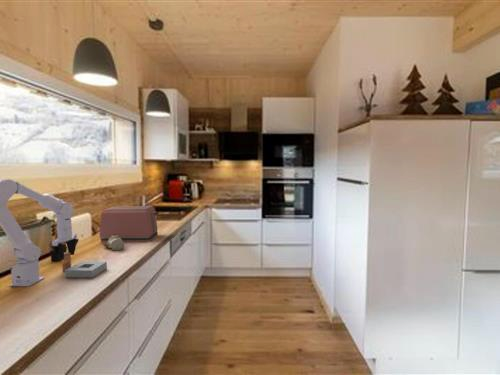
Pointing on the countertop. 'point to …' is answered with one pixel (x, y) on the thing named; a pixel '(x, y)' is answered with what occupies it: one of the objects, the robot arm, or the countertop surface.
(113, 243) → the ceramic sculpture
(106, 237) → the toaster
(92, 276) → the socket block
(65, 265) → the peg
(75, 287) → the countertop surface
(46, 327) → the countertop surface
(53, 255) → the battery
